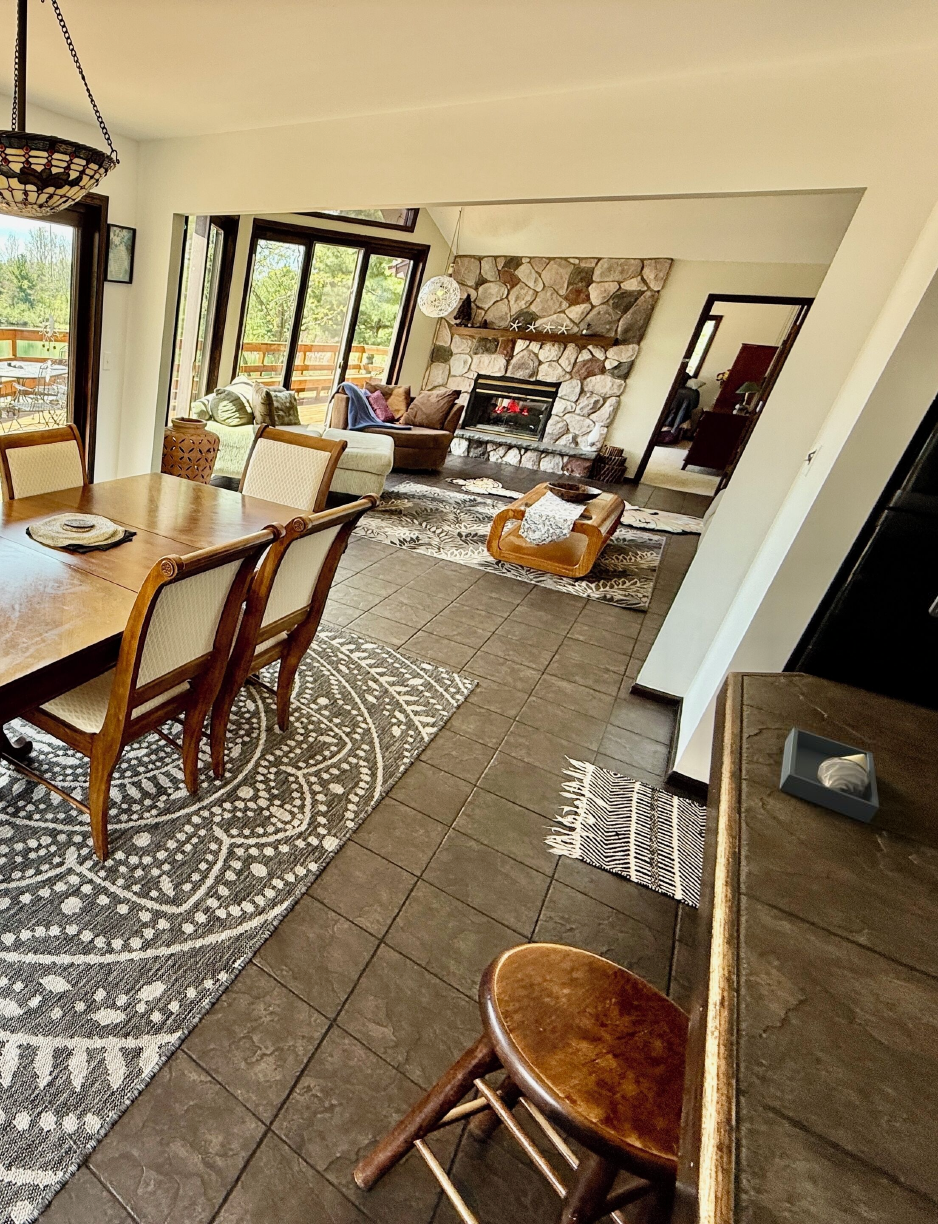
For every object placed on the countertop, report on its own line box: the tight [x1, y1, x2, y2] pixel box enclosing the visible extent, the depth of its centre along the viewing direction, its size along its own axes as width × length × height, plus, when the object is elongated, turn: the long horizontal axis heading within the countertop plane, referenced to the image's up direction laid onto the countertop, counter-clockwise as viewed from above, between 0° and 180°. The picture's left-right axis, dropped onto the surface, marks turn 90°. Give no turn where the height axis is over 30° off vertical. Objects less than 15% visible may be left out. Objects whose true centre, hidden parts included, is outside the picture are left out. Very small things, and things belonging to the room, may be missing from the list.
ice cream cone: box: [818, 754, 870, 793], centre depth 95 cm, size 5×5×15 cm
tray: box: [779, 727, 880, 824], centre depth 98 cm, size 20×9×3 cm, turn 133°
